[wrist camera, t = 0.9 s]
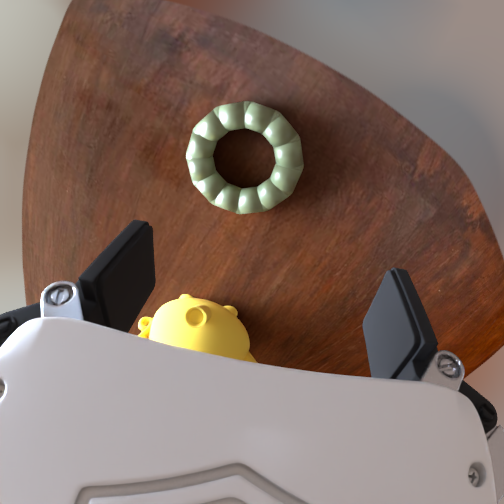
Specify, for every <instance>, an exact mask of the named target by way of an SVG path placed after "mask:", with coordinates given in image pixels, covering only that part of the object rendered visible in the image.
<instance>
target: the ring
mask: <svg viewBox="0 0 504 504" xmlns="http://www.w3.org/2000/svg"><path fill="white" fill-rule="evenodd" d="M243 128H247V129H250V130H253V131H256V132H258V133H261V134H263V135H264V136H265V138H266V139H267V140H268V141H269V142H270V144H271V145H272V146H273V147H274V153H275V159H276V165H275V167H274V169H273V172H272V174H271V177H270V178H269V179H267V180H266V181H265V182H263V183H262V184H261V185H259V186H257V187H249V188H240V187H237V186H234V185H232V184H229V183H227V182H226V181H225V180H224V179H223V178H222V177H221V176H220V174H219V173H218V172H217V171H216V168H215V164H214V159H213V153H214V150H215V147H216V144H217V141H218V140H219V139H220V138H222V137H223V136H224V135H225V134H226V133H227V132H229V131H231V130H237V129H243ZM186 159H187V163H188V167H189V170H190V174H191V178H192V182H193V184H194V185H195V186H196V187H197V188H198V189H199V191H200V192H201V193H202V194H203V195H204V196H205V197H206V198H207V199H208V200H209V201H210V202H211V203H212V204H213V205H215V206H218V207H221V208H224V209H226V210H229V211H232V212H234V213H237V214H247V213H255V212H264V211H268V210H270V209H272V208H273V207H274V206H276V205H277V204H279V203H280V202H282V201H283V200H284V199H286V198H287V197H289V196H290V195H291V194H292V193H293V191H294V188H295V186H296V184H297V182H298V180H299V177H300V175H301V173H302V171H303V167H304V163H303V155H302V148H301V141H300V137H299V135H298V134H297V132H296V131H295V130H294V129H293V127H292V126H291V125H290V124H289V122H288V121H287V120H286V119H285V118H284V116H283V115H282V114H281V113H280V112H278V111H276V110H274V109H271V108H269V107H266V106H263V105H260V104H257V103H254V102H251V101H242V102H237V103H232V104H227V105H222V106H218V107H216V108H215V109H213V110H212V111H211V112H210V113H209V114H208V115H207V116H206V117H205V118H203V119H202V120H201V121H200V122H199V123H198V124H197V125H196V126H195V127H194V129H193V132H192V135H191V139H190V142H189V146H188V149H187V153H186Z"/></svg>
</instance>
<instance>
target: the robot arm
mask: <svg viewBox="0 0 504 504" xmlns="http://www.w3.org/2000/svg"><path fill="white" fill-rule="evenodd" d="M154 287H155V265H154V248H153V228H152V226H149V223H148V222H146V221H140V220H133V221H132V222H131V223H130V224H129V225H128V226H127V227H126V228H125V229H124V230H123V231H122V232H121V233H120V234H119V235H118V236H117V237H116V238H115V239H114V240H113V241H112V242H111V243H110V244H109V245H108V246H107V247H106V248H105V249H104V251H103V252H102V253H101V254H100V255H99V256H98V257H97V258H96V259H95V260H94V261H93V262H92V263H91V265H90V266H89V267H88V268H87V269H86V270H85V271H84V272H83V273H82V275H81V276H80V277H79V280H78V281H77V282H76V284H74V283H72V282H70V281H58V282H55V283H53V284H51V285H49V286H48V287H47V288H46V289H45V290H44V291H43V293H42V295H41V302H39V303H36V304H32V305H29V306H26V307H23V308H20V309H16V310H13V311H9V312H6V313H3V314H1V315H0V504H498V502H499V501H500V500H501V499H502V497H503V496H504V429H503V428H502V427H501V425H499V426H498V427H497V426H496V423H497V413H496V410H495V408H494V406H493V405H492V404H491V403H490V402H489V401H488V400H487V399H485V398H484V397H483V396H482V395H480V394H479V393H478V392H477V391H476V390H475V389H473V388H472V387H471V386H469V385H468V384H467V383H466V382H465V381H463V377H464V372H465V371H464V366H463V364H462V362H461V361H460V359H459V358H458V357H457V356H456V355H455V354H453V353H451V352H449V351H446V350H440V351H438V350H437V347H436V346H437V345H438V342H437V339H436V337H435V334H434V332H433V329H432V327H431V324H430V322H429V319H428V317H427V314H426V312H425V310H424V307H423V305H422V303H421V300H420V298H419V296H418V294H417V291H416V289H415V287H414V285H413V283H412V281H411V278H410V276H409V274H408V272H407V271H406V270H404V269H399V268H392V269H391V270H388V271H387V272H386V274H385V276H384V278H383V280H382V283H381V285H380V287H379V289H378V291H377V293H376V296H375V298H374V300H373V302H372V304H371V306H370V308H369V310H368V312H367V314H366V316H365V318H364V321H363V331H364V336H365V342H366V347H367V353H368V359H369V365H370V371H371V378H370V377H359V376H348V375H338V374H329V373H320V372H312V371H305V370H298V369H291V368H284V367H278V366H271V365H265V364H260V363H254V362H248V361H243V360H238V359H233V358H228V357H223V356H218V355H213V354H209V353H204V352H200V351H195V350H191V349H187V348H182V347H178V346H174V345H170V344H166V343H162V342H159V341H155V340H151V339H148V338H144V337H140V336H137V335H133V334H129V333H128V332H129V330H130V328H131V327H132V325H133V323H134V321H135V320H136V318H137V316H138V314H139V313H140V311H141V309H142V308H143V306H144V304H145V302H146V301H147V299H148V297H149V296H150V294H151V292H152V291H153V289H154Z"/></svg>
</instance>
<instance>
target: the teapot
mask: <svg viewBox="0 0 504 504" xmlns="http://www.w3.org/2000/svg"><path fill="white" fill-rule="evenodd" d="M237 314H238V312H237V310H236V309H235V308H234V307H232V306H221V305H219V304H217V303H215V302H212V301H209V300H205V299H199V298H193V297H192V296H190V295H187V294H184V295H181V296H180V299H177V300H173V301H170V302H168V303H166V304H164V305H163V306H162V307H161V308H159V310H158V311H157V312H156V314H155V316H154V318H153V319H152V318H150V317H143V318H141V319H140V321H139V324H138V326H139V329H140V330H141V331H142V332H141V333H140V334H139V335H138V336H140V337H144V338H147V337H148V336H149V339H151V340H155V341H159V342H162V343H166V344H170V345H174V346H178V347H182V348H187V349H191V350H195V351H200V352H204V353H209V354H213V355H218V356H223V357H228V358H233V359H238V360H243V361H248V362H254V363H257V361H256V360H255V359H254V357H253V356H252V355H251V354H250V352H249V347H250V341H249V336H248V333H247V331H246V329H245V327H244V325H243V324H242V323H241V322H240V320H239V319H238V318H237V317H236V316H237ZM144 325H148V327H147V326H144Z"/></svg>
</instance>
